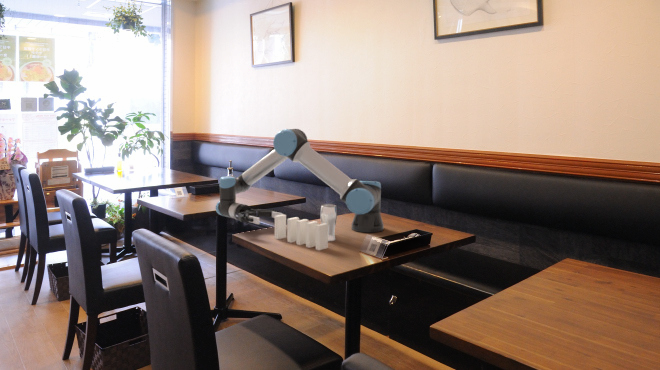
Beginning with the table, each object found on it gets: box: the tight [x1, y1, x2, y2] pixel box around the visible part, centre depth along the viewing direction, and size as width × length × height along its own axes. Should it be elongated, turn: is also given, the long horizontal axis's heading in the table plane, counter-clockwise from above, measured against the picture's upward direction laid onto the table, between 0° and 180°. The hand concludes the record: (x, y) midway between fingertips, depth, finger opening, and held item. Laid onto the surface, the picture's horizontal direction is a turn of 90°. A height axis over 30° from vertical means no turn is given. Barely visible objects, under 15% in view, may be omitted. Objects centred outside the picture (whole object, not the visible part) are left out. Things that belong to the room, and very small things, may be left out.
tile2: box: [286, 216, 300, 244], centre depth 207 cm, size 2×5×10 cm, turn 138°
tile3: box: [295, 218, 309, 246], centre depth 203 cm, size 2×5×10 cm, turn 139°
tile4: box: [305, 220, 319, 248], centre depth 200 cm, size 2×5×10 cm, turn 138°
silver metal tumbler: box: [320, 203, 338, 243], centre depth 209 cm, size 7×7×15 cm
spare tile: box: [274, 213, 287, 240], centre depth 212 cm, size 2×5×10 cm, turn 139°
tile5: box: [315, 223, 329, 251], centre depth 196 cm, size 2×5×10 cm, turn 138°
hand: (270, 218), depth 215 cm, fingers open, 13 cm apart
